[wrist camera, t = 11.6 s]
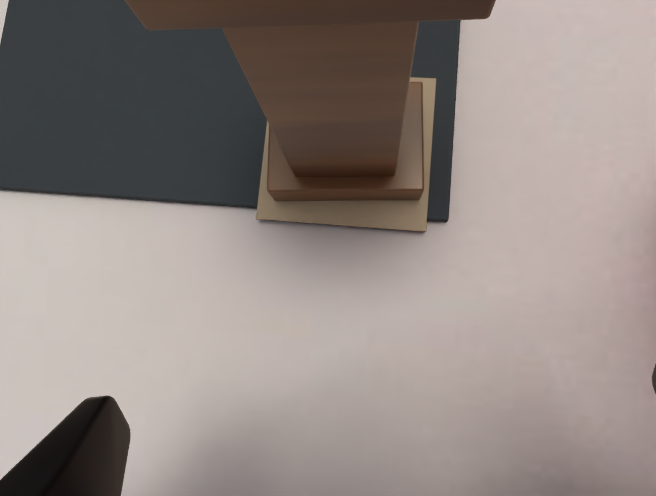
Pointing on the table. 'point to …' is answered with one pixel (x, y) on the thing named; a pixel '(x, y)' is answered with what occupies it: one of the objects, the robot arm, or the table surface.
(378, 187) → the letter I
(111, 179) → the word mat
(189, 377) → the table surface
